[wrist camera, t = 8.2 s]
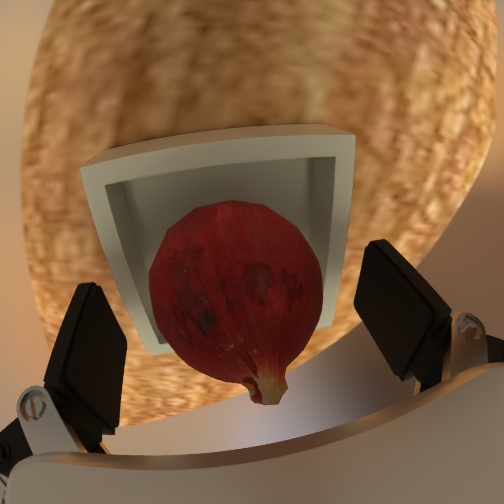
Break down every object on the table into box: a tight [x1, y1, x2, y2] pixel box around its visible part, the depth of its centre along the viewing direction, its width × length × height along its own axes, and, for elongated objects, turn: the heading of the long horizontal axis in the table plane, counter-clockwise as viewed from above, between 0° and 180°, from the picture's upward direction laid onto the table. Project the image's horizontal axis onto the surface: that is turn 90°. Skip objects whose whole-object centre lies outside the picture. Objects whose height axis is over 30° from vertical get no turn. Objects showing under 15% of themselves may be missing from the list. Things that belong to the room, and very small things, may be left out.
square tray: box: [79, 124, 356, 355], centre depth 12 cm, size 10×10×3 cm
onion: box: [149, 200, 323, 405], centre depth 9 cm, size 6×6×8 cm
